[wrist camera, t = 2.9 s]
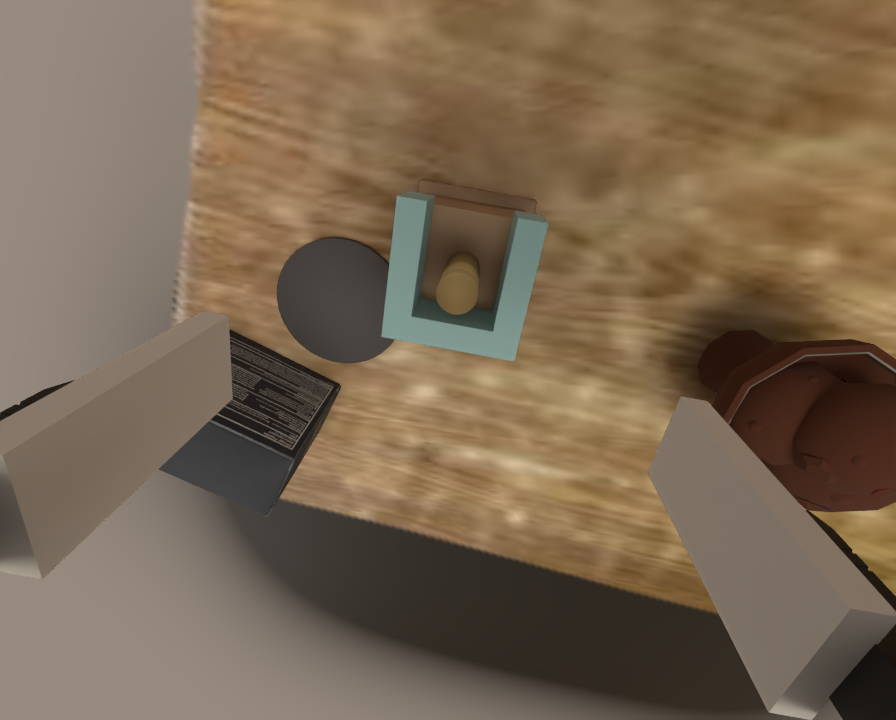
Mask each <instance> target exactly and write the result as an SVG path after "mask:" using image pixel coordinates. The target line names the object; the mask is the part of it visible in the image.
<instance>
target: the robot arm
mask: <svg viewBox="0 0 896 720" xmlns="http://www.w3.org/2000/svg"><path fill="white" fill-rule="evenodd" d="M232 399H233V393H232V374H231V354H230V334H229V316H226V315H220V314H215V313H209V312H204V311H202V312H200V313H198V314H197V315H195V316H193V317H191V318H189V319H187V320H186V321H184V322H182V323H180V324H178V325H176V326H174V327H173V328H171V329H169V330H167V331H165V332H163V333H162V334H160V335H158V336H156V337H154V338H152V339H151V340H149V341H147V342H145V343H143V344H141V345H140V346H138V347H136V348H134V349H132V350H130V351H128V352H127V353H125V354H123V355H121V356H119V357H118V358H116V359H114V360H112V361H110V362H108V363H106V364H104V365H103V366H101V367H99V368H97V369H95V370H93V371H92V372H90V373H88V374H86V375H84V376H82V377H81V378H79V379H77V380H73V381H70V382H67V383H63V384H60V385H57V386H54V387H51V388H47V389H44V390H42V391H40V392H39V393H37V394H35V395H33V396H31V397H29V398H27V399H25V400H23V401H21V403H20V405H14V406H12V407H10V408H8V409H6V410H5V411H3V412H1V413H0V572H5V573H10V574H15V575H21V576H26V577H32V578H38V579H43V578H44V577H45V576H46V575H47V574H48V573H49V572H50V571H52V570H53V569H54V568H55V567H56V566H57V565H58V564H59V563H60V562H61V561H62V560H63V559H64V558H65V557H66V556H67V555H68V554H69V553H71V551H73V550H74V549H75V548H76V547H77V546H78V545H79V544H80V543H81V542H82V541H83V540H84V539H85V538H86V537H87V536H88V535H90V534H91V533H92V532H93V531H94V530H95V529H96V528H97V527H98V526H99V525H100V524H101V523H102V522H103V521H104V520H105V519H106V518H107V517H108V516H110V515H111V514H112V513H113V512H114V511H115V510H116V509H117V508H118V507H119V506H120V505H121V504H122V503H123V502H124V501H125V500H126V499H127V498H129V496H131V495H132V494H133V493H134V492H135V491H136V490H137V489H138V488H139V487H140V486H141V485H142V484H143V483H144V482H145V481H146V480H147V479H148V478H149V477H151V476H152V475H153V474H154V473H155V472H156V471H157V470H158V469H159V468H160V467H161V466H162V465H163V464H164V463H165V462H166V461H167V460H169V459H170V458H171V457H172V456H173V455H174V454H175V453H176V452H177V451H178V450H179V449H180V448H181V447H182V446H183V445H184V444H185V443H186V442H187V441H189V440H190V439H191V438H192V437H193V436H194V435H195V434H196V433H197V432H198V431H199V430H200V429H201V428H202V427H203V426H204V425H205V424H206V423H207V422H209V421H210V420H211V419H212V418H213V417H214V416H215V415H216V414H217V413H218V412H219V411H220V410H221V409H222V408H223V407H224V406H225V405H226V404H228V403H229V402H230V401H231V400H232ZM648 475H649V477H650V479H651V481H652V483H653V485H654V486H655V488H656V490H657V492H658V494H659V496H660V498H661V500H662V502H663V504H664V506H665V508H666V510H667V512H668V514H669V516H670V518H671V520H672V522H673V524H674V526H675V528H676V530H677V532H678V534H679V536H680V538H681V540H682V542H683V544H684V546H685V548H686V550H687V552H688V554H689V556H690V558H691V560H692V562H693V564H694V566H695V568H696V570H697V572H698V574H699V576H700V578H701V580H702V581H703V583H704V585H705V587H706V589H707V591H708V593H709V595H710V597H711V599H712V601H713V603H714V605H715V607H716V609H717V611H718V613H719V615H720V617H721V619H722V621H723V623H724V625H725V627H726V629H727V631H728V633H729V635H730V637H731V639H732V641H733V643H734V645H735V647H736V649H737V651H738V653H739V654H740V657H741V659H742V660H743V663H744V665H745V666H746V669H747V670H748V672H749V674H750V676H751V678H752V680H753V682H754V684H755V686H756V688H757V690H758V692H759V694H760V696H761V698H762V700H763V702H764V704H765V706H766V708H767V710H768V712H770V713H775V714H781V715H786V716H792V717H798V718H803V719H809V720H812V719H813V718H814V717H815V716H816V714H817V713H818V712H819V711H820V710H821V709H822V708H823V706H824V705H825V704H826V703H827V702H828V701H829V700H831V701H832V703H833V705H834V706H835V708H836V709H837V711H838V713H839V714H840V716H841V717H842V719H843V720H896V596H895V595H894V594H893V593H892V592H891V591H890V590H889V589H888V588H887V587H886V586H885V585H884V583H883V582H882V581H881V580H880V579H879V578H878V577H877V576H876V575H875V574H874V573H873V572H872V571H868V566H867V565H866V564H865V563H864V562H863V561H862V560H861V559H860V558H859V556H858V555H857V554H853V553H852V549H851V548H850V547H849V546H848V545H847V544H846V542H845V541H844V540H843V539H842V538H841V537H840V536H839V535H838V534H837V533H836V532H835V531H834V530H833V529H832V528H831V527H829V526H828V525H827V524H826V523H824V522H823V521H822V520H820V519H819V518H818V517H816V516H815V515H814V514H812V513H811V512H810V511H808V510H804V508H803V507H802V506H801V505H800V504H799V503H798V502H797V501H796V499H795V498H794V497H793V496H792V495H791V494H790V493H789V492H788V491H787V489H786V488H785V487H784V486H783V485H782V484H781V483H780V482H779V481H778V479H777V478H776V477H775V476H774V475H773V474H772V473H771V472H770V470H769V469H768V468H767V467H766V466H765V465H764V464H763V463H762V462H761V460H760V459H759V458H758V457H757V456H756V455H755V454H754V453H753V452H752V450H751V449H750V448H749V447H748V446H747V445H746V444H745V443H744V442H743V440H742V439H741V438H740V437H739V436H738V435H737V434H736V433H735V431H734V430H733V429H732V428H731V427H730V426H729V425H728V424H727V423H726V421H725V420H724V419H723V418H722V417H721V416H720V415H719V414H718V413H717V411H716V410H715V409H714V408H713V407H712V406H711V405H710V404H709V402H708V401H704V400H699V399H693V398H687V397H682V396H680V399H679V401H678V403H677V406H676V408H675V410H674V413H673V415H672V417H671V420H670V422H669V424H668V427H667V429H666V431H665V434H664V436H663V438H662V441H661V443H660V445H659V448H658V450H657V452H656V454H655V457H654V459H653V461H652V464H651V466H650V468H649V471H648Z"/></svg>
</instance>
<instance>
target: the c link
mask: <svg viewBox="0 0 896 720" xmlns="http://www.w3.org/2000/svg"><path fill="white" fill-rule="evenodd" d="M434 200H435V196H434V195H429V194H423V193H418V192H412V191H407V192H405V193H402V194H400V195H398V196H397V199H396V208H395V217H394V226H393V235H392V244H391V253H390V263H389V272H388V281H387V290H386V299H385V308H384V317H383V326H382V335H381V337H385V338H390V339H396V340H401V341H406V342H412V343H417V344H422V345H428V346H433V347H439V348H444V349H449V350H455V351H460V352H465V353H471V354H476V355H482V356H487V357H492V358H498V359H503V360H508V361H514V360H515V356H516V352H517V348H518V344H519V340H520V336H521V332H522V328H523V324H524V320H525V316H526V312H527V308H528V304H529V300H530V296H531V292H532V288H533V284H534V280H535V276H536V272H537V268H538V264H539V260H540V256H541V252H542V248H543V244H544V240H545V236H546V232H547V228H548V224H549V223H548V222H547V221H546V220H545V219H544V218H543V216H542V215H538V214H533V213H527V212H522V211H516V210H515V211H514V216H513V220H512V225H511V229H510V234H509V239H508V243H507V248H506V252H505V257H504V262H503V266H502V271H501V275H500V280H499V285H498V289H497V294H496V298H495V303H494V308H493V311H487V310H482V309H476V308H472V309H471V310H470V311H468V312H466V313H464V314H459V315H455V314H450V313H448V312H446V311H445V310H443V309H442V308H441V307H440V305H439V304H438V302H437V301H433V300H428V299H422V298H420V297H421V290H422V283H423V276H424V269H425V262H426V255H427V248H428V241H429V235H430V228H431V221H432V214H433V207H434Z"/></svg>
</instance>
